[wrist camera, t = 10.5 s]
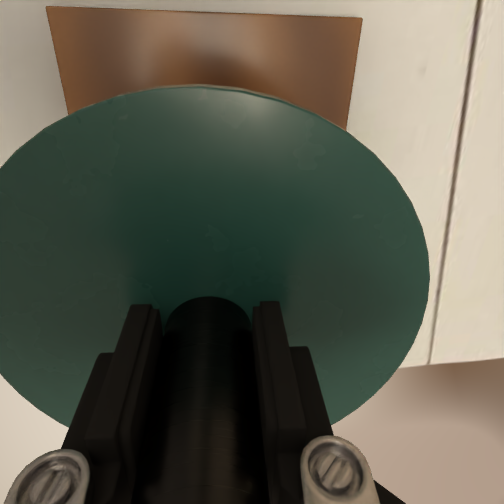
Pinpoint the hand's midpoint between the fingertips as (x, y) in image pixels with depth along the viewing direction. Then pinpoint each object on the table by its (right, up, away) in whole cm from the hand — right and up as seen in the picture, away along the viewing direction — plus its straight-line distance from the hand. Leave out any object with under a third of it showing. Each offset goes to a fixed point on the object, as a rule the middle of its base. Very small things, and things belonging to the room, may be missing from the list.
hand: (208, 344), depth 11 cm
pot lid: (0, +1, +1) cm, 1 cm away
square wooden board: (-1, +9, +15) cm, 18 cm away
